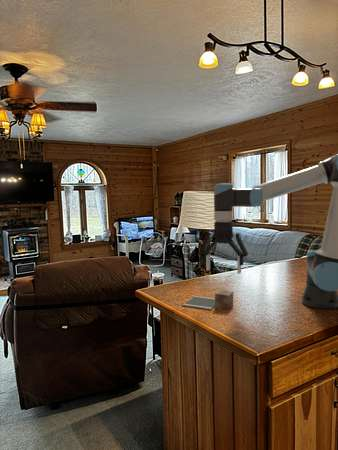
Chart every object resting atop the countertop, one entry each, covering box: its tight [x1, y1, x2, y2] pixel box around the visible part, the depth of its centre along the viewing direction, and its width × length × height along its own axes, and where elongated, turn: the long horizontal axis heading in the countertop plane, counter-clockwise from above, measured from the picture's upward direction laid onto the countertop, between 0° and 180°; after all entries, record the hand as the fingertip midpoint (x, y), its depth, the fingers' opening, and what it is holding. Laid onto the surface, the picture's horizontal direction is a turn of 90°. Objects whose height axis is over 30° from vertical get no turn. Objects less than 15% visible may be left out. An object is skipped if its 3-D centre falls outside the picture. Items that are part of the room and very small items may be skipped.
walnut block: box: [214, 290, 234, 311], centre depth 143 cm, size 6×6×6 cm
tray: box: [182, 295, 215, 311], centre depth 148 cm, size 13×13×1 cm
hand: (223, 271), depth 142 cm, fingers open, 13 cm apart
